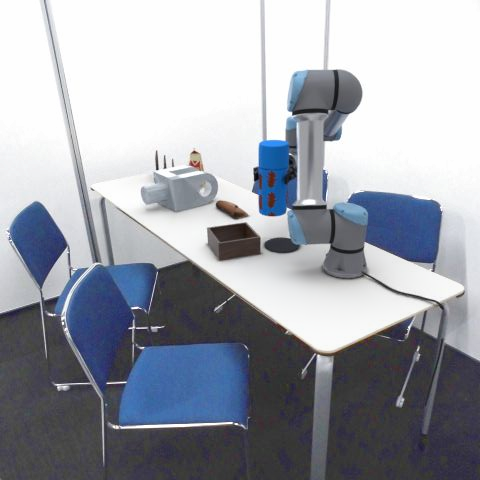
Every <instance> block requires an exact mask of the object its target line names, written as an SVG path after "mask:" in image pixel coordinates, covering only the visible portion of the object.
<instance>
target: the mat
mask: <svg viewBox="0 0 480 480" xmlns="http://www.w3.org/2000/svg"><path fill="white" fill-rule="evenodd" d="M263 244H264V248H265V249H266V250H268V251H269V252H272V253H277V254H289V253H293V252H296V251H299V249H300V246H301V245H297V244H294V243H293V242H292V240H291V238H290V237H280V236H279V237H273V238H269V239H268V240H266V241H264V243H263Z"/></svg>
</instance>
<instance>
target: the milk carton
mask: <svg viewBox="0 0 480 480" xmlns="http://www.w3.org/2000/svg"><path fill="white" fill-rule="evenodd" d="M188 157H189V158H188V165H189V166H192V167H195V168H197V169H198V170H199V171H205V168H204V163H203V159H202V154H201V153H200V152H199V151H197V149H196V148H195V147H193V150H192V151H191V152H190V153H189V156H188ZM202 188H206V184H205V182H203V186H202Z"/></svg>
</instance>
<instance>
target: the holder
mask: <svg viewBox="0 0 480 480" xmlns="http://www.w3.org/2000/svg"><path fill="white" fill-rule="evenodd" d="M206 233H207V235H206V236H207V245H208V246H209V248H210V249H211V250H212V253H214V255H215V257H216V258H217V259H218V261H225V260H232V259H239V258H244V257H245V258H246V257H251V256H256V255H257V256H258V255H261V254H262V252H261V250H262V245H261V244H262V242H261V241H262V237H261V236H260V235H259V234H258V233H257V231H256V230H255V229H253V227H252V226H251V225H250V224H249V222H247V221H245V222H238V223H237V222H236V223H230V224H223V225H216V226H209V227H208V226H207V227H206Z"/></svg>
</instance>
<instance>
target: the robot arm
mask: <svg viewBox="0 0 480 480" xmlns="http://www.w3.org/2000/svg"><path fill="white" fill-rule="evenodd" d="M288 85H289V86H288V91H287V92H288V93H287V100H286V111H287V112H289V113H291V115H290V116H288V117H287V118H286V120H285V130H284V131H285V134H284V135H285V136H284V138H285V139H284V141H287V142H288V143H289V169H288V174H287V175H286V176H285V183H284V184H287V183H288V184H289V183H290V182H291V181H293V180H295V179H296V198H295V201H294V202H293V203H292V204H291V209H289V210H288V211H287V212H286V214H287V218H286V219H287V226H288V227H287V228H288V234H289V238H291V240H292V242H293V243H294V244H297V245H300V246H301V245H304V246H307V245H308V246H309V245H329V249H328V251H327V253H325V259H324V260H323V265H322V269H323V271H324V272H325V274H327V275H329V276H331V277H334V278H338V279H357V278H360V277H362V276H366V277H368V278H369V279H371V280H373V281H375V282H377V283H378V284H380V285H381V286H383V287H385V288H386V289H388V290H389V291H392V292H394V293H397V294H400V295H404V296H409V297H414V298H417V299H421V300H424V301H428V302H432V303H435V304H437V305H438V306H439V307H440V308H441V309H442V310H445V307H444V305H442V303H441V302H439V301H438V300H436V299H432V298H428V297H425V296H422V295H417V294H413V293H408V292H403V291H400V290H397V289H394V288H392V287H390V286H389V285H387V284H385V283H383V282H382V281H381V280H379V279H377V278H376V277H374V276H372V275H370V274H368V273H366V272H367V267H368V265H367V260H366V255H365V244H366V236H367V228H368V225H369V213H368V210H367V209H366V208H364V207H363V206H361V205H358V204H355V203H351V202H343V201H342V202H341V201H340V202H336V203H335V204H334V205H333V206H332V208H328V204H327V202H326V201H325V200H324V199H323V186H324V185H323V181H324V179H323V178H324V177H323V175H324V166H323V165H324V142H336V141H339V140H341V138H342V135H343V124H344V123H345V122H346V120H347V119H348V117H349V115H350V114H352V113H354V112H355V111H356V110H357V109H358V108H359V106H360V104H361V102H362V100H363V93H364V91H363V88H362V87H363V86H362V85H361V82H360V80H359V79H358V77H357V76H356V75H354V74H353V73H352V72H350V71H348V70H345V69H339V68H338V69H305V70H296V71H294V72H293V73H292V75H291V77H290V80H289V84H288ZM252 171H253V173H252V174H253V182H257V181H258V171H259V165H258V166H255V167H253V169H252ZM443 345H444V338H443V337H442V338H440V345H439V350H438V354H437V358H436V362H435V365H434V369H433V372H432V376H431V379H430V382H429V386H428V390H427V394H426V397H425V402H424V407H427V405H428V401H429V397H430V394H431V390H432V387H433V383H434V380H435V376H436V373H437V370H438V365H439V363H440V359H441V354H442V350H443Z"/></svg>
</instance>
